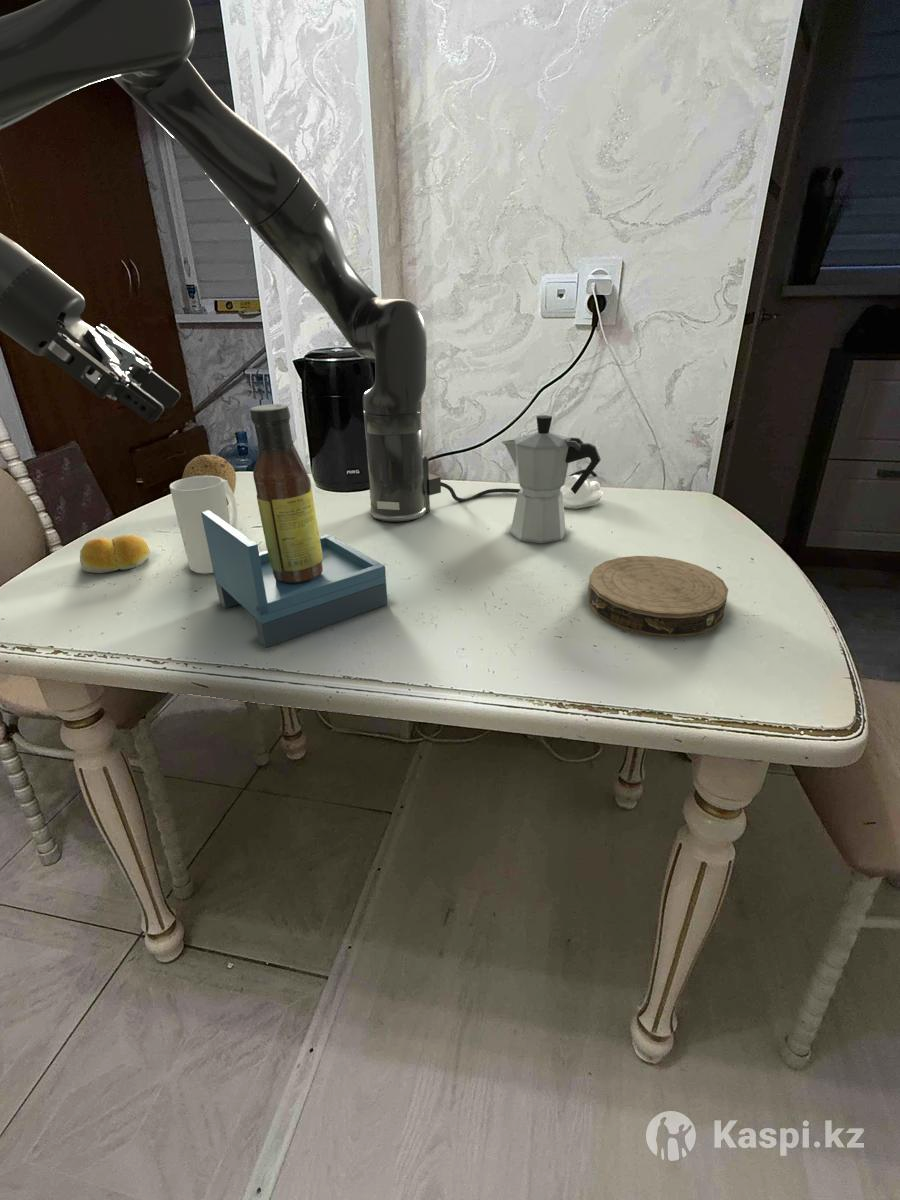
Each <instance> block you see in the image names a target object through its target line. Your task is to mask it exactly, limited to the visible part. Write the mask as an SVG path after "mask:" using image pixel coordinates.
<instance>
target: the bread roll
mask: <svg viewBox="0 0 900 1200" xmlns="http://www.w3.org/2000/svg"><path fill="white" fill-rule="evenodd" d="M150 557H151V548H150V546H149V544H148V542H147V541H146V540H145V539H144V538H142V537H140V536H138V535H135V534H129V535H119V536H116V537H114V538H112V539H109V538H104V537H98V538H92V539H88V541H86V542H85V543H84V544H83V546H82V547H81V549H80V551H79V563H80V566H81V570H83V571H85V572H87V573H90V574H91V573H92V574H105V573H111V572H116V571H118V570H123V571H124V570H131V569H135V568H138V567H139V566H141V565H142V564H143V563H145V562H146V561H147V560H148V559H149V558H150Z"/></svg>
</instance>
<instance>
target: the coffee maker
mask: <svg viewBox="0 0 900 1200" xmlns="http://www.w3.org/2000/svg"><path fill="white" fill-rule="evenodd" d="M552 420H553V416H552V415H547V414H544V415H543V414H541V415H540V414H539V415H536V426H537V432H534V433H529V434H526V435H522V436H519V437H515V438H513V439H508V440H503V441H501V442H500V443H501V444H502V445H504V446H505V448H506V449H507V452H508V454H509V456H510V458H511V460H512V462H513V464H514V466H515V471H516V476H517V477H516V478H517V482H518V484H519V487H520V488H519V489H520V491H519V492H518V493H517V497H516V502H515V505H514V512H513V517H512V522H511V528H510V532H509V534H510V535H512V536H513V537H515V538H516V539H517V540H519V541H520V542H528V543H533V544H534V543H535V544H546V543H552V542H558V541H562V539H563V538H564V536H565V535H566V533H567V530H566V529H567V528H566V518H565V507H563V496H562V492H561V491H560V489H561V487H562V486H563V485H564V483H565V478H566V476H567V473H568V468H569V464H570V463H573V462H577V461H580V460H583V459H586V458H589V459H590V463H589V464H588V465H587V467H586V468H585V469H584V470H585V471H584V472H583V473H582V474H580V475H581V476H580V477H579V479H578V480H577V481H576V483H575V484H574V485H573V487H572V488H571V490H572V491H573V492H574V494H576V492H577V491H578V490H579V488H580V487H581V486H582V484H583V483H584V482H585V480H586V479H587V478H588V479H589V477H590V475H592V474H591V472H592V471H593V472H594V470H595V468H596V467H597V465H598V464H599V463H600V462H601V461H602V460H601V459H602V458H601V457H600V454H599V451H598V448H597V447H596V445H594V444H592V443H590V442H584V441H582V439H581V438H580V437H568V436H564V435H561V434H556V433H554V432H550V429H551V425H552Z"/></svg>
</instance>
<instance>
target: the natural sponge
mask: <svg viewBox="0 0 900 1200" xmlns="http://www.w3.org/2000/svg"><path fill="white" fill-rule="evenodd" d="M235 470H236V469H235V468H234V467H233V466H232V464H231V463H230V462H229V461H228V460H226V459H225V458H223V457H221V456H218V455H215V454H201V455H198V456H196V457H194V458H193V459H191V460H190V461H189V462H188V463H187V464H186V465H185V468H184V470H183V473H182V477H181V479H184V478H189V477H195V476H216V477H220V478H222V479H223V480H227V481H228V485H229V487H230V488H231V490H232V492H233V494H234V495H235V491H236V484H237V474H236V471H235ZM226 501H227V507H229V503H228V500H227V497H226Z"/></svg>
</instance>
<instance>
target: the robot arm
mask: <svg viewBox="0 0 900 1200" xmlns="http://www.w3.org/2000/svg"><path fill="white" fill-rule="evenodd" d="M195 34H196V27H195V18H194V14H193V8H192V5H191V2H190V0H40V1H38V2H36V3H33V4H31V5H29V6H26V7H24V8H22V9H19V10H16V11H13V12H10V13H8V14H5V15H2V16H0V131H2V130H4V129H6V128H8V127H10V126H12V125H14V124H16V123H18V122H20V121H22V120H24V119H26V118H27V117H29V116H31V115H33V114H34V113H36V112H38V111H39V110H41V109H43V108H44V107H47V106H48V105H50V104H52V103H54V102H55V101H57V100H59V99H61V98H63V97H65V96H67V95H69V94H71V93H72V92H75V91H77V90H79V89H82V88H85V87H87V86H90V85H92V84H95V83H98V82H101V81H104V80H107V79H110V78H111V79H113V80H114V81H115V83H116V84H118V85H119V87H121V88H122V89H123V90H124V91H125V92H126V93H127V94H128V95H129V96H130V97H131V98H132V99H133V100H134V101H135V102H136V103H137V104H138V105H139V106H141V108H142V109H144V110H145V111H146V112H147V113H148V114H149V115H150V116H151V117H152V119H154V120H155V121H156V122H157V123H158V124H159V125H160V126H161V127H162V128H163V129H164V130H165V131H166V132H167V133H168V134H169V135H170V136H171V137H172V138H173V139H174V140H175V141H176V142H177V143H178V145H180V146H181V147H182V149H183V150H184V151H185V152H186V153H187V154H188V155H189V156H190V158H191V159H192V160H193V161H194V162H195V164H196V165H197V166H198V167H199V168H200V169H201V171H203V173H204V174H205V175H206V177H207V178H208V179H209V180H210V181H211V182H212V184H213V185H214V186H215V188H217V189H218V191H220V193H221V194H222V195H223V196H224V197H225V199H226V200H227V201H228V203H230V204H231V205H232V207H233V208H234V209H235V210H236V212H237V213H238V214H239V215H240V217H242V219H243V220H244V222H246V224H247V225H249V227H250V228H251V229H252V230H253V232H254V233H255V234H257V236H258V237H259V238H260V239H261V240H262V241H263V243H264V244H265V245H266V247H268V249H270V251H272V253H273V254H274V255H275V256H277V258H278V259H279V260H280V261H281V262H282V263H283V265H285V266H286V268H287V269H288V270H289V271H290V272H291V273H292V274H293V275H294V278H296V279H297V280H298V281H299V282H300V283H301V284H302V286H303V287H304V288H305V289H306V290H307V291H308V292H309V293H310V294H311V295H312V296H313V297H314V299H316V300H317V302H318V303H319V304H320V305H321V307H322V308H323V309H324V311H325V313H327V315H328V316H329V317H330V319H331V320H332V322H333V323H334V325H335V326H336V328H337V329H338V330H339V331H340V333H341V334H342V336H343V338H345V340H346V341H347V343H348V344H349V346H350V347H351V348H352V349H353V351H355V353H356V354H357V355H358V356H360V357H361V358H363V359H364V360H366V361H368V362H370V363H373V364H374V370H375V371H374V372H375V373H374V383H373V385H372V386H371V387H370V388H369V389H367V390H365V392H364V393H363V395H362V408H363V409H362V410H363V421H364V433H365V445H366V460H367V473H368V486H369V499H370V516H371V517H372V518H374V519H376V520H379V521H383V522H389V523H390V522H392V523H398V522H408V521H413V520H416V519H420V518H422V517H423V516H425V514H426V513H428V512H431V498H430V497H431V496H433V495H437V494H441V493H442V488H445V489H447V490H448V491H449V493H450V495H451V496H452V499H453V500H455V501H456V502H459V503H464V502H468V501H471V500H474V499H477V498H480V497H482V496H485V495H488V494H493V493H514V494H515V493H517V494H518V492H519V491H520V489H521V488H507V487H506V488H505V487H503V488H499V487H497V488H489V489H485V490H483V491H480V492H478V493H476V494H475V495H472V496H470V497H467V498H466V497H465V498H463V497H459V496H457V494H456V492H455V490H454V489H453V487H452V486H450V485H449V484H447V483H446V482H442V481H441V479H442V478H441V476H438V475H435V474H433V473H430V468H429V467H430V465H429V463H430V462H429V457H428V456H427V455H425V454H424V440H423V439H424V438H423V437H424V436H423V414H422V409H423V408H422V406H423V405H422V402H423V397H424V395H425V391H426V387H427V353H428V351H427V349H428V348H427V345H428V344H427V330H426V329H427V328H426V324H425V320H424V317H423V314H422V312H421V311H420V309H419V308H418V307H417V305H416V304H414V303H413V302H411V301H410V300H407V299H403V298H383V297H380V296H379V295H377V294H376V293H375V292H374V291H373V290H372V289H371V288H370V287H369V286H368V284H367V283H365V281H364V280H363V279H362V277H361V276H360V274H359V273H357V271H356V270H355V268H354V267H353V266H352V264H351V263H350V261H349V260H348V258H347V256H346V254H345V250H344V248H343V245H342V242H341V238H340V235H339V232H338V230H337V227H336V224H335V221H334V219H333V216H332V215H331V214H332V213H330V210H329V209H328V208H329V207H328V206H327V205H326V203H325V201H324V200H323V198H322V197H321V196H320V194H319V193H318V191H317V190H316V188H315V187H314V186H313V185H312V183H311V182H310V181H309V180H308V178H307V177H306V175H305V174H304V173H303V172H302V171H301V169H300V168H299V166H298V165H297V164H296V163H295V162H294V161H293V159H291V157H290V156H289V155H288V154H287V153H286V152H285V151H284V150H283V149H282V148H281V147H279V146H278V145H276V143H275V142H273V140H270V138H268V137H267V136H266V135H264V134H263V133H262V132H261V131H259V130H257V129H256V128H255V127H254V126H253V125H251V124H250V123H249V122H247V121H246V120H244V118H242V117H240V115H238V114H237V113H236V112H235V111H233V110H232V109H231V108H230V107H229V106H228V105H227V104H225V103H224V101H222V100H221V99H220V97H218V95H217V94H216V93H215V92H214V91H213V90H212V88H211V87H210V86H209V84H207V82H206V81H205V79H203V77H202V76H201V74H200V73H199V72H198V71H197V69H196V68H195V67H194V65H193V64H192V63H191V61H190V60H189V57H190V55H191V53H192V50H193V47H194V43H195ZM85 300H86V299H85V298H84V296H83V295H82V294H81V293H80V292H79V291H77V290H76V289H75V288H74V287H72V286H71V285H69V283H67V282H66V281H65V280H63V279H62V278H61V277H60V276H58V275H57V274H56V273H54V271H52V270H51V269H50V268H49V267H47V266H46V265H44V264H43V263H42V262H41V261H40V260H38V259H37V258H35V256H33V255H32V254H31V253H29V251H27V250H26V249H24V248H23V247H22V246H21V245H20V244H18V243H17V242H16V241H14V240H12V239H11V238H9V237H8V236H6V235H4V234H3V233H1V232H0V331H1V332H2V333H4V334H5V335H7V336H8V337H10V338H11V339H12V340H13V341H15V342H16V343H18V344H19V345H21V346H22V348H23V347H24V349H26V350H27V351H28V352H30V353H31V354H33V355H35V356H36V357H43V356H44V357H45V358H46V359H47V360H48V361H50V362H52V364H54V365H55V366H57V367H58V368H59V369H61V370H63V372H65V373H66V374H67V375H69V376H70V377H71V378H73V379H74V380H75V381H77V382H78V383H79V384H81V386H83V387H84V388H86V389H87V390H89V391H90V392H91V393H92V394H94V395H95V396H96V397H97V398H100V399H103V400H105V398H106V397H107V398H108V399H109V400H113V401H118V402H120V403H121V404H122V405H124V406H125V407H126V408H127V409H129V410H131V411H132V412H133V413H135V414H136V415H138V416H139V417H140V418H141V419H143V420H144V421H145V422H147V424H154V423H155V422H156V421H157V420H158V419H159V418H160V416H161V415H162V413H163V412H164V411H165V408H166V409H171V408H173V407H174V406H175V405H176V403H177V402H178V401H179V400H180V398H181V397H182V395H181V392H180V390H178V389H177V388H175V386H173V385H172V384H170V383H169V382H168V381H167V380H165V379H164V378H163V377H161V376H160V375H159V374H158V373H156V372H155V371H154V370H153V367H152V366H151V364H152V361H151V360H150V359H149V357H147V356H145V355H143V354H142V353H141V352H140V351H138V350H137V349H136V348H135V347H134V346H132V345H130V343H128V342H126V341H125V340H124V339H123V338H121V336H119V335H118V334H116V333H115V332H114V331H113V330H111V329H110V328H109V327H108V326H107V325H105V324H102V323H100V324H99V325H98V326H96V327H93V326H91V325H90V324H88V323H87V322H85V321H84V320H83V319H82V314H83V312H84V311H85V307H86V301H85ZM584 471H585V469H581V470H578V471H575V472H572V473H571V474H569V475H566V477H568V476H573V475H582V473H583V472H584ZM590 475H591V476H593V477H598V474H597V473H596V472H595V471H594V470H593V471H592V472H591V474H590Z"/></svg>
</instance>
